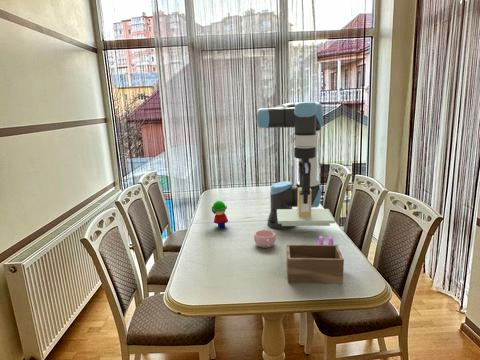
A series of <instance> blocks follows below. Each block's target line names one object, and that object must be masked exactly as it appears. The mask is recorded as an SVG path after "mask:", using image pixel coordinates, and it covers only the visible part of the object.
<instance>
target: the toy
mask: <svg viewBox="0 0 480 360" xmlns="http://www.w3.org/2000/svg"><path fill="white" fill-rule="evenodd" d="M227 209H228V206H227V205H226V204H225V202H223V200H222V201H221V200H217V201H215V202H213V205H212V206H211V212H212V213H213V214H214V218H213V219H214V220H213V223H214V224H217V226H218V227H217V228H219V230H225V229H226V224H227V223H228V222H229V219H228V217H227V214H226V210H227Z"/></svg>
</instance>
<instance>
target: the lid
mask: <svg viewBox="0 0 480 360" xmlns="http://www.w3.org/2000/svg"><path fill="white" fill-rule="evenodd" d="M300 193H302V187H298V207H297V209H296V208H292V209H277V220H278V224H282V226H294V227H330V226H331V224H335V223H336V220H335V218H334V216H333V214H332V213H331V211H330V209H329V208H311V195H312V190H311V188H310V194H309V212H301V195H300Z"/></svg>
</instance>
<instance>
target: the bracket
mask: <svg viewBox="0 0 480 360" xmlns="http://www.w3.org/2000/svg"><path fill="white" fill-rule="evenodd" d="M327 240H328V241H327V245H334V237H333V235H329V236H328V238H327ZM318 245H325V244H324V237H323V235H322V236H321V235H319V236H318Z"/></svg>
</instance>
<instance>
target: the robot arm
mask: <svg viewBox="0 0 480 360" xmlns="http://www.w3.org/2000/svg"><path fill="white" fill-rule="evenodd" d="M322 106H323V104H322V103H321V102H318V101H303V102H302V101H301V102H286V103H282V104H279V105H275V106H274V107H265V108H264V107H263V108H262V107H261V108H259V109H258V110H257V111H256V113H257V114H256V125H257V127H258V128H259V129H260V128H261V129H273V128H274V129H279V128H280V129H281V128H282V129H283V128H285V129H286V128H289V129H290V128H294V137H292V140H293V141H294V148H293V149H294V150H293V151H294V152H293V154H294V155H293V156H294V158H295V159H297V160H299V161H298V168H299V169H298V174H299V179H298V180H296V184H294V183H293V182H292V181H288V180H287V181H279V182H276V183H273V184H272V185H270V192H269V194H270V212H269V215H268V218H267V226H268V227H269V228H271V229H273V230H274V229H275V230H290V229H293V228H295V226H282V224H278V220H277V209H293V208H298V187H302V193H300V195H301V212H309V194H310V188H311V190H312V195H311V209H313V208H319V206H320V205H321V199H322V192H323V185H321V184H320V181H319V180H318V179H317V171H318V170H317V169H318V167H317V166H318V133H319V132H320V131H321V130H322V127H324V125H325V124H324V115H323V114H324V113H323V107H322Z"/></svg>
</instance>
